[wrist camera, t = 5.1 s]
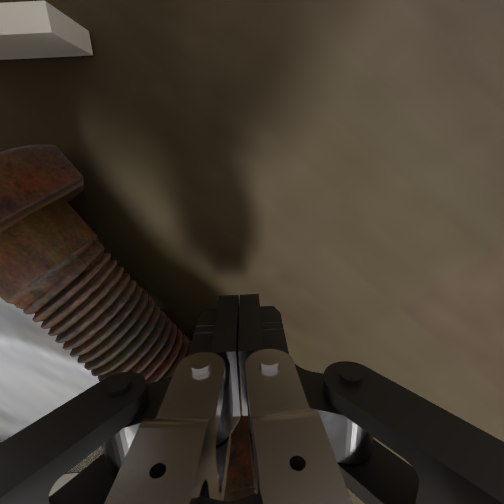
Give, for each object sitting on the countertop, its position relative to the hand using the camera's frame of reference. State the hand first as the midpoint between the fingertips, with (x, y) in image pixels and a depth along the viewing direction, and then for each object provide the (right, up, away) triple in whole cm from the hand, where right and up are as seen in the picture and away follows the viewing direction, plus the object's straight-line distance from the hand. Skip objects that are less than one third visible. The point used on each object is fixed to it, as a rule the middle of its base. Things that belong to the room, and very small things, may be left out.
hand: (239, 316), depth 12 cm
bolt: (-4, -1, +2) cm, 5 cm away
